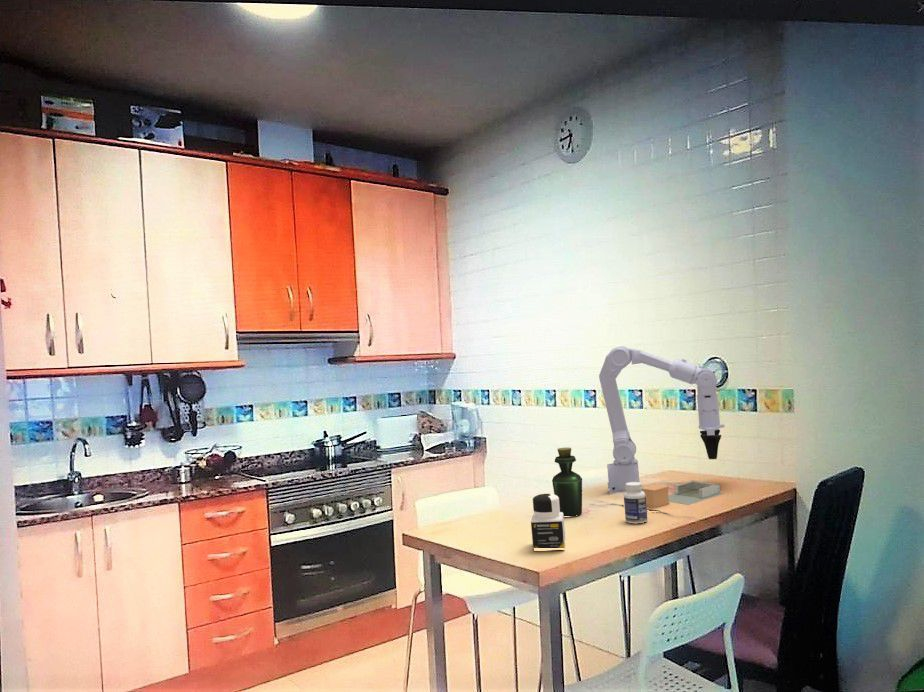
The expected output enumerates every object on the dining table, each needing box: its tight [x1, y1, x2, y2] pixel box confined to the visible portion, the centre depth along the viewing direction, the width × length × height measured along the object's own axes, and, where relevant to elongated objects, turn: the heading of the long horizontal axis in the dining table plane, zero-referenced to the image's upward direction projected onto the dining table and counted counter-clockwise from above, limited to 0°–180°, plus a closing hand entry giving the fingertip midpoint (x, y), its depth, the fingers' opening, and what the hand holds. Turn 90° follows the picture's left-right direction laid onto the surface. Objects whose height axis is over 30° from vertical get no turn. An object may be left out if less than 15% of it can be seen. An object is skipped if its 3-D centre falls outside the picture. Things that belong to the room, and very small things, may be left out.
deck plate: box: [668, 492, 725, 506], centre depth 187 cm, size 16×11×1 cm
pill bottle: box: [623, 482, 648, 525], centre depth 170 cm, size 5×5×10 cm
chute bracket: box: [674, 480, 721, 499], centre depth 189 cm, size 8×9×2 cm
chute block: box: [641, 483, 670, 512], centre depth 181 cm, size 6×5×6 cm
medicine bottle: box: [530, 493, 567, 549], centre depth 155 cm, size 7×7×12 cm
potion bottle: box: [551, 446, 583, 517], centre depth 183 cm, size 8×8×18 cm
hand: (712, 456), depth 196 cm, fingers open, 7 cm apart
